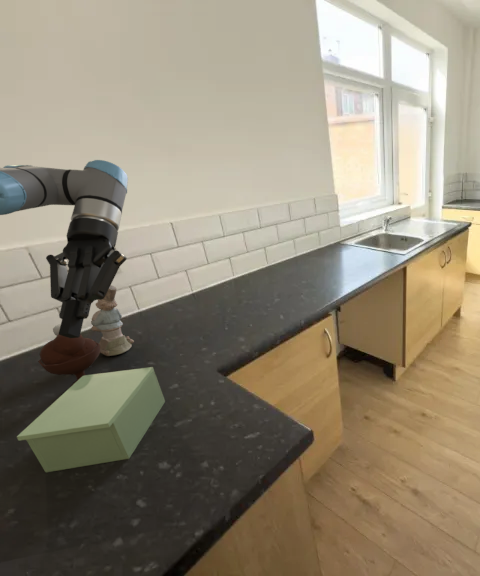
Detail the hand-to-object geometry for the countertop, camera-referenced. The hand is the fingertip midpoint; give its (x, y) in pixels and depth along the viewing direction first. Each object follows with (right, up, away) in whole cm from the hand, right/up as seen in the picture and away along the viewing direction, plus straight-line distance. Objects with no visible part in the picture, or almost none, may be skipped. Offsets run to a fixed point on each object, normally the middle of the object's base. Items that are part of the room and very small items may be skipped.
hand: (69, 335), depth 57 cm
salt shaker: (-27, -13, +31) cm, 43 cm away
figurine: (-23, -10, +38) cm, 46 cm away
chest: (+1, -21, +8) cm, 23 cm away
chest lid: (+1, -13, +5) cm, 14 cm away
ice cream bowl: (-19, -16, +23) cm, 34 cm away
